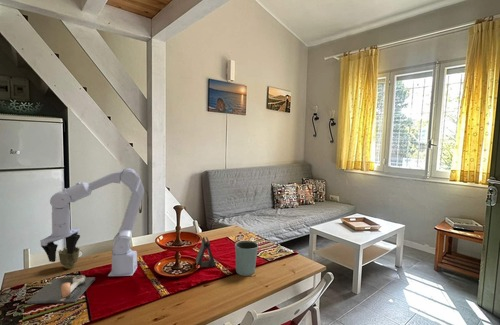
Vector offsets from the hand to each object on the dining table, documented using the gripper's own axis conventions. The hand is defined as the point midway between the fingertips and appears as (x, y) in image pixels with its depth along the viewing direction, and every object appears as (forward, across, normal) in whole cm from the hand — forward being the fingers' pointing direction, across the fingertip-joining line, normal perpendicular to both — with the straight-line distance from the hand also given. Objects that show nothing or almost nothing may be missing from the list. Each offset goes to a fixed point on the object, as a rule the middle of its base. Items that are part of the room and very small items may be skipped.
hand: (61, 257), depth 102 cm
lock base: (+10, +5, +6) cm, 13 cm away
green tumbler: (+10, -32, +66) cm, 74 cm away
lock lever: (+8, +4, +10) cm, 14 cm away
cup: (+10, -10, -7) cm, 16 cm away
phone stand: (+10, -31, +46) cm, 57 cm away
